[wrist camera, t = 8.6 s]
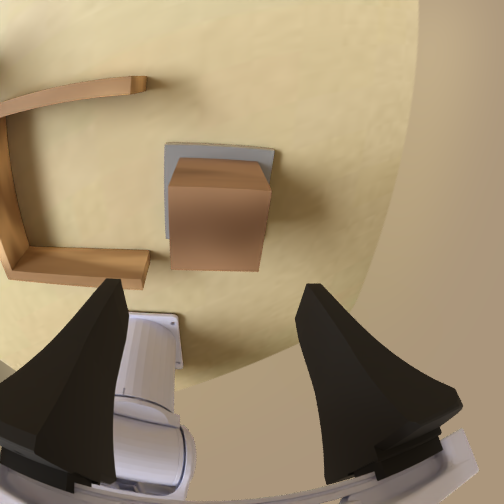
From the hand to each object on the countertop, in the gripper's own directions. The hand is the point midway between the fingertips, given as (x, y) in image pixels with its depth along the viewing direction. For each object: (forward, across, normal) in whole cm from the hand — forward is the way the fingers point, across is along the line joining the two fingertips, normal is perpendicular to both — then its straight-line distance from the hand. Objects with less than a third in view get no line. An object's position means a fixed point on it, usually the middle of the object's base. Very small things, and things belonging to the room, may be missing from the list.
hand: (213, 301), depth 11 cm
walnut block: (+10, 0, 0) cm, 10 cm away
